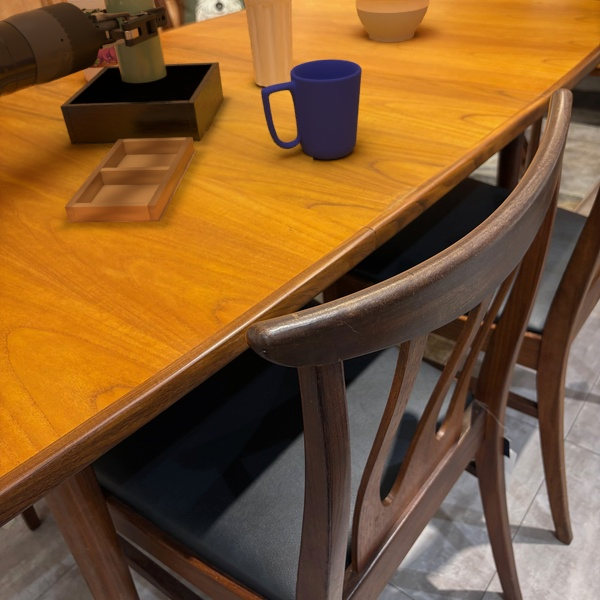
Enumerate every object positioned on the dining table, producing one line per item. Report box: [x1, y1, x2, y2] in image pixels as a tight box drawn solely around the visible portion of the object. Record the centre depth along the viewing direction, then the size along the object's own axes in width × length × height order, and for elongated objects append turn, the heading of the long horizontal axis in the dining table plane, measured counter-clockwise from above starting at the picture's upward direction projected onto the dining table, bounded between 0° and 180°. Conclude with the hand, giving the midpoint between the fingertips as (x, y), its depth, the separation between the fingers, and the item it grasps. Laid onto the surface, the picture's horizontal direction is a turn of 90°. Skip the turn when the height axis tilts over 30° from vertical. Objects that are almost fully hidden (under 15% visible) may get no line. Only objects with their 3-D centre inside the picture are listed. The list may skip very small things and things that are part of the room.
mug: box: [260, 58, 363, 160], centre depth 73 cm, size 8×12×10 cm
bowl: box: [355, 0, 430, 43], centre depth 117 cm, size 16×16×8 cm
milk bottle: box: [66, 0, 118, 82], centre depth 101 cm, size 8×8×20 cm
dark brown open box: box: [59, 61, 225, 145], centre depth 87 cm, size 18×18×6 cm
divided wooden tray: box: [64, 137, 197, 223], centre depth 70 cm, size 10×18×2 cm, turn 176°
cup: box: [243, 0, 294, 88], centre depth 95 cm, size 8×8×14 cm
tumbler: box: [104, 0, 167, 83], centre depth 81 cm, size 6×6×12 cm
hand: (144, 14), depth 81 cm, fingers closed on tumbler, 6 cm apart
